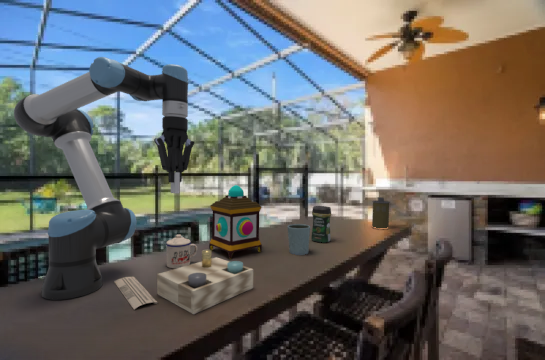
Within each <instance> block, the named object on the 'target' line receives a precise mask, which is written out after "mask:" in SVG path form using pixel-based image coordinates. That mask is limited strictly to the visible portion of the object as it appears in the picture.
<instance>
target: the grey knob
mask: <svg viewBox="0 0 545 360" xmlns="http://www.w3.org/2000/svg"><path fill="white" fill-rule="evenodd" d="M204 285H206V274H205V273H193V274H190V275H189V276H188V286H189V287H192V288H194V289H196V288H198V287H201V286H204Z"/></svg>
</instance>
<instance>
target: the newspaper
mask: <svg viewBox="0 0 545 360" xmlns="http://www.w3.org/2000/svg"><path fill="white" fill-rule="evenodd" d="M114 284H115V285H116V287H117V288H118V290H119V291H120V293H122V295H123V296H124V298H125V299H126V301H127V302H128V304H129V305H130V306H131V308H132V310H134V311H137V308H138V307H140V306H143V305H146V304H151V303H153V304H155V305H159V303H158V301H157V300H156V298H154V297H153V295H151V293H150V292H149V291H148V290H147V289H146V288H145V286H144V285H142V284H141V282H139V280H138V279H137V278H136V277H135V276H125V277H121V278H118V279H116V280H114Z"/></svg>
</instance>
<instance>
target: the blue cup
mask: <svg viewBox="0 0 545 360" xmlns="http://www.w3.org/2000/svg"><path fill="white" fill-rule="evenodd" d="M286 228H287V235H288V248H289V249H288V251H289V254H291V255H294V254H295V256H305V254H306V255H308V254H309V250H310V249H309V244H310V232H311V226H310V225H308V224H305V223H304V224H303V223H294V224H289V225H287V227H286Z"/></svg>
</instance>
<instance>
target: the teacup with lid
mask: <svg viewBox="0 0 545 360" xmlns="http://www.w3.org/2000/svg"><path fill="white" fill-rule="evenodd" d="M165 246H166V267H168V268H169V269H177V268H180V267H184V266H187V265H191V257H194V256H195V255H197V253H198V246H197V244H194V243H192V242H191V240H190V239H189V238H185V237H183V236H182V235H181V234H176V235H175V237H173V238H171V239H169V240H166V243H165ZM191 247H194V251H193V253H192V254H191Z"/></svg>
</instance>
